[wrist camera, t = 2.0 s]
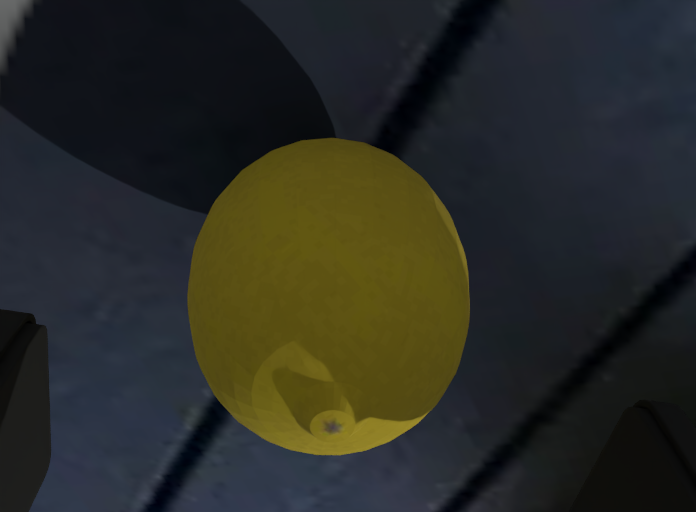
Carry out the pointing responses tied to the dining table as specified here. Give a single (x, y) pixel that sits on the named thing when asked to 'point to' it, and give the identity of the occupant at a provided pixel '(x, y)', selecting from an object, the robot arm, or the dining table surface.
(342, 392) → the lemon
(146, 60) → the dining table surface
